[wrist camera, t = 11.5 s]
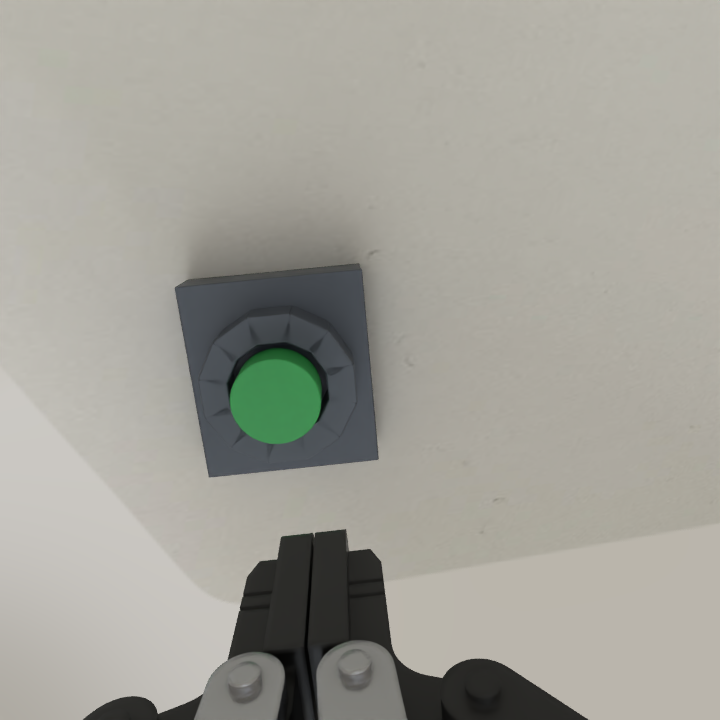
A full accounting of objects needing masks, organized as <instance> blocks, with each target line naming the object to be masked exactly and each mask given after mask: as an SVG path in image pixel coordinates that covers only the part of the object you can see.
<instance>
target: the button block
mask: <svg viewBox="0 0 720 720" xmlns="http://www.w3.org/2000/svg"><path fill="white" fill-rule="evenodd" d="M175 292H176V298H177V303H178V309H179V314H180V320H181V325H182V331H183V336H184V342H185V347H186V353H187V358H188V364H189V369H190V375H191V380H192V386H193V392H194V397H195V403H196V408H197V414H198V419H199V425H200V430H201V436H202V441H203V447H204V452H205V458H206V463H207V469H208V474H209V477H218V476H228V475H237V474H247V473H257V472H266V471H276V470H285V469H295V468H304V467H314V466H323V465H333V464H342V463H352V462H362V461H371V460H378V459H379V458H378V446H377V435H376V424H375V412H374V401H373V390H372V378H371V367H370V356H369V344H368V333H367V322H366V310H365V299H364V287H363V276H362V269H361V267H360V265H359V264H349V265H338V266H328V267H317V268H307V269H297V270H286V271H276V272H265V273H255V274H245V275H234V276H224V277H213V278H203V279H193V280H187V281H185V282H183V283H182V284H180V285H178V286H177V287H175ZM271 348H285V349H290V350H293V351H296V352H298V353H300V354H302V355H303V356H305V357H306V358H307V359H308V360H309V361H310V362H311V363H312V364H313V365H314V367H315V368H316V370H317V372H318V374H319V376H320V379H321V385H322V397H321V410H320V414H319V417H318V419H317V421H316V423H315V424H314V426H313V427H312V428H311V429H310V430H309V431H308V432H307V433H306V434H305V435H304V436H302V437H300V438H299V439H297V440H294V441H292V442H288V443H283V444H269V443H264V442H261V441H258V440H256V439H254V438H252V437H250V436H249V435H248V434H246V433H245V432H244V431H243V430H242V429H241V428H240V427H239V426H238V424H237V423H236V421H235V419H234V417H233V415H232V412H231V408H230V393H231V389H232V386H233V383H234V382H235V380H236V378H237V376H238V374H239V372H240V370H241V368H242V366H243V365H244V364H245V362H246V361H247V360H248V359H249V358H251V357H252V356H253V355H255V354H256V353H258V352H261V351H263V350H266V349H271Z"/></svg>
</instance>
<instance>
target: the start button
mask: <svg viewBox="0 0 720 720" xmlns="http://www.w3.org/2000/svg"><path fill="white" fill-rule="evenodd" d="M321 397H322V385H321V379H320V376H319V374H318V372H317V370H316V368H315V367H314V365H313V364H312V363H311V362H310V361H309V360H308V359H307V358H306V357H305V356H303V355H302V354H300V353H298V352H296V351H293V350H290V349H285V348H271V349H266V350H263V351H261V352H258V353H256V354H255V355H253V356H252V357H251V358H249V359H248V360H247V361H246V362H245V364H244V365H243V366H242V368H241V370H240V372H239V374H238V376H237V378H236V380H235V382H234V383H233V386H232V389H231V393H230V408H231V412H232V415H233V417H234V419H235V421H236V423H237V424H238V426H239V427H240V428H241V429H242V430H243V431H244V432H245V433H246V434H248V435H249V436H250V437H252V438H254V439H256V440H258V441H261V442H264V443H269V444H283V443H288V442H292V441H294V440H297V439H299V438H300V437H302V436H304V435H305V434H306V433H307V432H308V431H309V430H310V429H311V428H312V427H313V426H314V424H315V423H316V421H317V419H318V417H319V414H320V410H321Z"/></svg>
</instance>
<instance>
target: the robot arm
mask: <svg viewBox="0 0 720 720" xmlns="http://www.w3.org/2000/svg"><path fill="white" fill-rule="evenodd" d="M83 720H588V719H586V718H585V717H583V716H582V715H580V714H579V713H577V712H576V711H574V710H573V709H571V708H569V707H568V706H567V705H565V704H563V703H562V702H560V701H559V700H557V699H556V698H554V697H553V696H551V695H550V694H548V693H547V692H545V691H544V690H542V689H541V688H539V687H537V686H536V685H534V684H533V683H531V682H530V681H528V680H526V679H525V678H524V677H522V676H521V675H519V674H518V673H516V672H515V671H513V670H511V669H510V668H508V667H507V666H505V665H503V664H501V663H498V662H496V661H492V660H488V659H470V660H466V661H462V662H460V663H458V664H456V665H454V666H453V667H452V668H450V669H449V670H448V671H447V672H446V674H445V675H444V677H443V678H439V677H433V676H428V675H423V674H420V673H417V672H415V671H413V670H411V669H409V668H407V667H406V666H405V665H403V664H402V663H401V662H400V661H399V660H398V659H397V657H396V656H395V654H394V651H393V649H392V645H391V638H390V630H389V621H388V613H387V605H386V597H385V589H384V581H383V573H382V565H381V561H380V560H379V559H378V558H377V556H376V555H375V554H374V553H373V552H372V551H371V549H367V550H358V551H349V548H348V540H347V533H346V529H345V530H336V531H327V532H317V533H315V538H314V535H313V533H310V534H300V535H291V536H282V537H281V541H280V547H279V553H278V559H277V560H268V561H260V562H259V563H258V564H257V566H256V567H255V568H254V569H253V571H252V572H251V573H250V574H249V575H248V577H247V580H246V585H245V589H244V593H243V597H242V601H241V606H240V611H239V614H238V618H237V623H236V627H235V631H234V635H233V640H232V644H231V648H230V652H229V657H228V661H226V662H225V663H223V664H222V665H220V666H219V667H218V668H217V669H216V670H215V671H214V672H213V674H212V675H211V677H210V678H209V680H208V683H207V685H206V687H205V690H204V693H203V694H202V695H201V696H199V697H198V698H196V699H194V700H192V701H190V702H188V703H186V704H183V705H180V706H178V707H175V708H173V709H170V710H168V711H165V712H162V713H160V714H158V713H157V709H156V707H155V706H154V704H153V703H152V702H151V701H149V700H147V699H146V698H142V697H135V696H131V697H124V698H119V699H116V700H113V701H111V702H109V703H106V704H104V705H103V706H101V707H99V708H98V709H96V710H95V711H93V712H92V713H91V714H89V715H88V716H87V717H86V718H84V719H83Z"/></svg>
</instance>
